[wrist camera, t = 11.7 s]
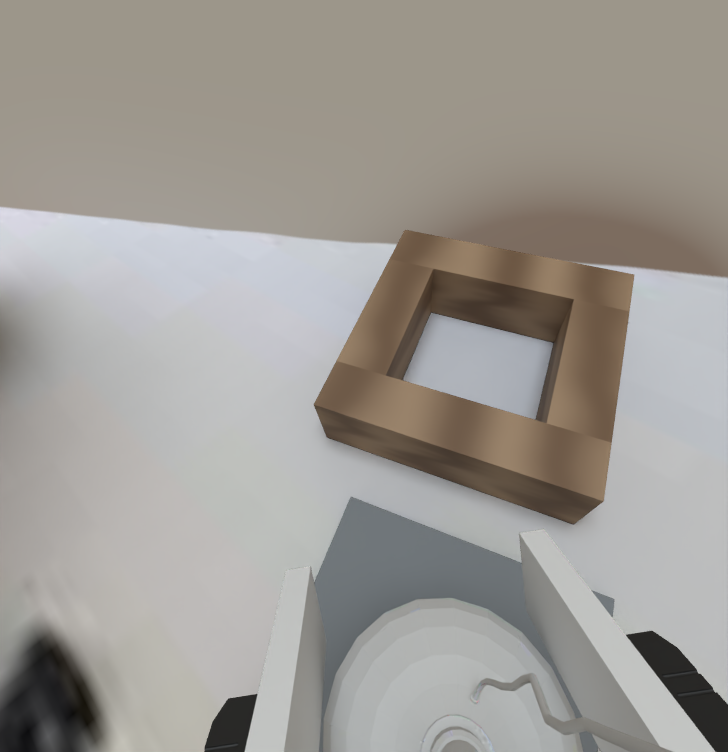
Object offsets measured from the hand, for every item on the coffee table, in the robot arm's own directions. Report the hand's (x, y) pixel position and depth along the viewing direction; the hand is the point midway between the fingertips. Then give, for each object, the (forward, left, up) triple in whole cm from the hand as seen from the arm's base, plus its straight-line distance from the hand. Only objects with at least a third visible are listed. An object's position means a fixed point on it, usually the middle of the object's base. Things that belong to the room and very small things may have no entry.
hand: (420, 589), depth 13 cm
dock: (-1, +17, -14) cm, 22 cm away
